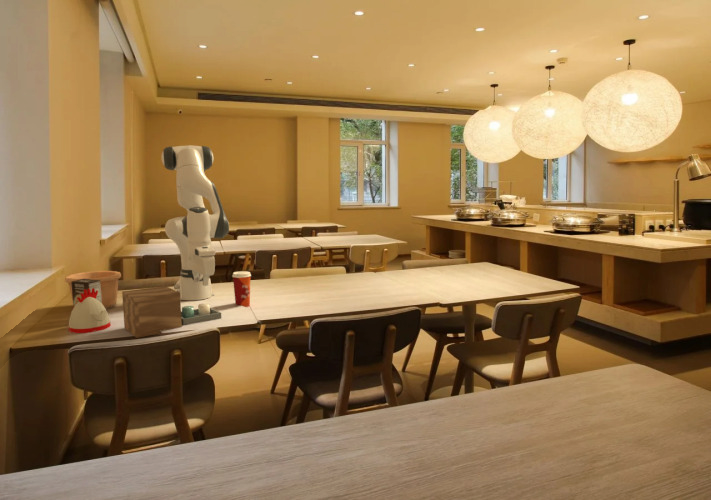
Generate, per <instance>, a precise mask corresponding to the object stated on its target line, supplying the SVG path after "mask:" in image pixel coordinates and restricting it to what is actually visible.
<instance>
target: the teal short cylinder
mask: <svg viewBox="0 0 711 500" xmlns="http://www.w3.org/2000/svg"><path fill="white" fill-rule="evenodd" d="M194 307H195V306H193V305H185V306H181V312H182V317H183V318H191V317H194V309H195V308H194Z"/></svg>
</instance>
